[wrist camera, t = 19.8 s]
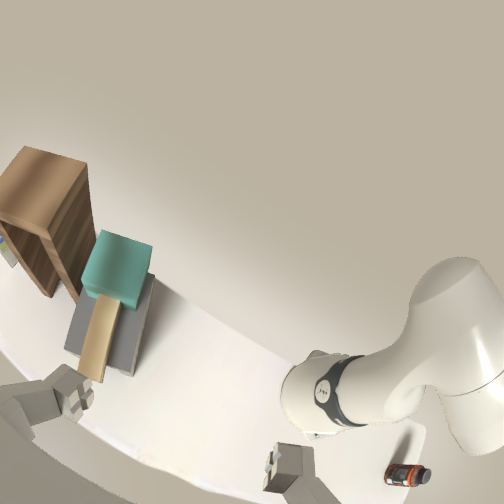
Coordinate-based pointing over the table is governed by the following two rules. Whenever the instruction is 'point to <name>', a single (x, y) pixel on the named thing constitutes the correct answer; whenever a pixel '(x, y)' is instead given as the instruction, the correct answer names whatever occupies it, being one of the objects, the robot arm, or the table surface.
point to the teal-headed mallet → (110, 294)
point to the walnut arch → (48, 218)
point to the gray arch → (125, 331)
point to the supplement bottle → (407, 475)
